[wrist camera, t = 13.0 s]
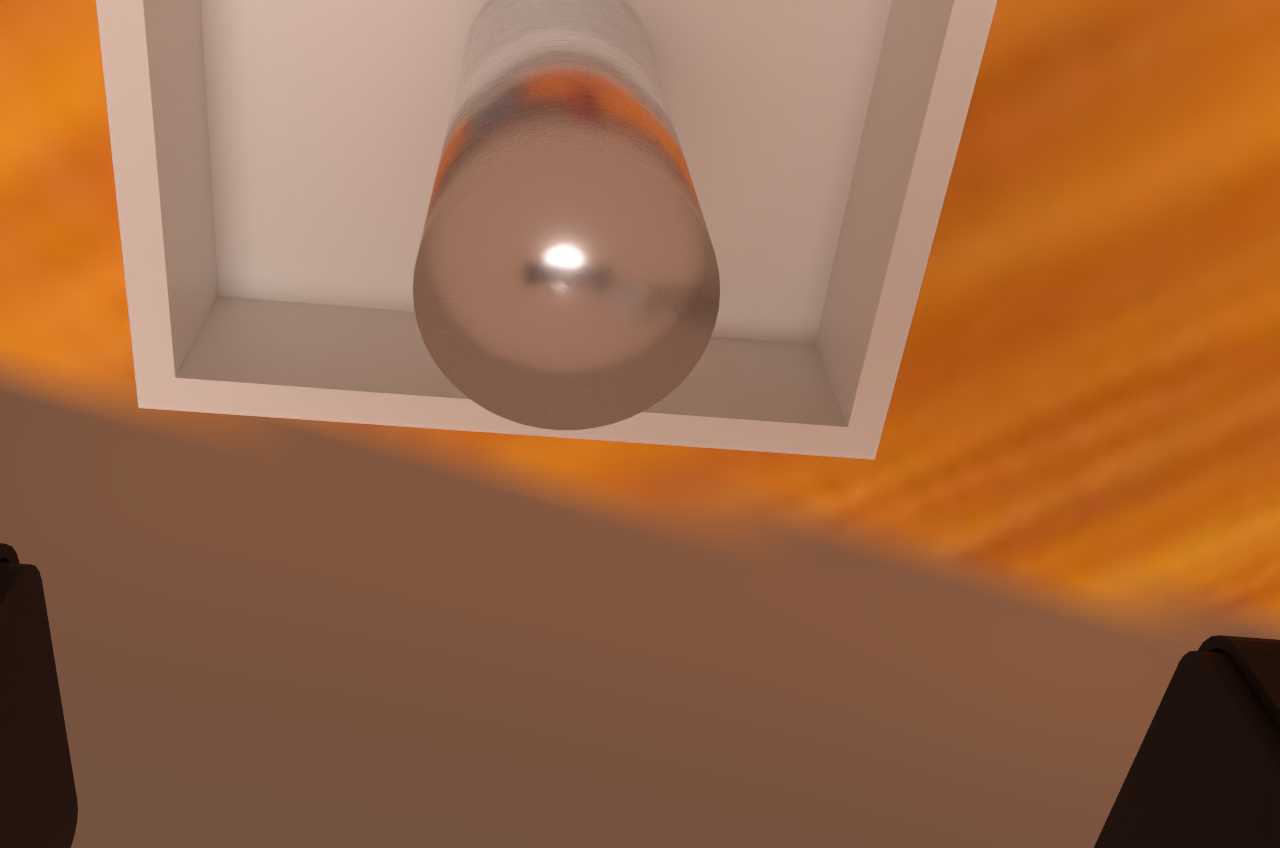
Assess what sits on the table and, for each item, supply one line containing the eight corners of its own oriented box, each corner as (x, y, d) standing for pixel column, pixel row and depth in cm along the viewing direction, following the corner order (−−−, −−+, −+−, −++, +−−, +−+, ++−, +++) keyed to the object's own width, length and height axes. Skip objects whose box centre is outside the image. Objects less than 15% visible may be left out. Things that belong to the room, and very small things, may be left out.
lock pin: (660, -20, 25) (739, 161, 15) (640, 165, 27) (700, 437, 17) (467, -38, 25) (413, 136, 15) (462, 152, 27) (411, 422, 17)
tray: (980, -255, 24) (1061, -242, 20) (834, 363, 31) (874, 459, 27) (141, -376, 22) (56, -386, 18) (191, 312, 29) (138, 407, 26)
